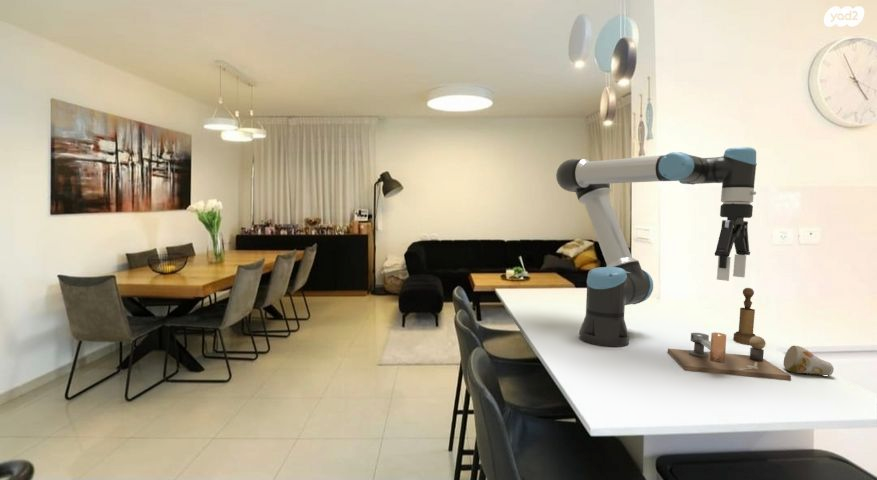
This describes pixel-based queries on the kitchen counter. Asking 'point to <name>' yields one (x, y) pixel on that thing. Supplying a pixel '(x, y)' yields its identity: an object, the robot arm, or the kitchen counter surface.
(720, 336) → the lever
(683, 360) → the wooden board
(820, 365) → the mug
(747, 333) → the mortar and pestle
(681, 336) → the kitchen counter surface
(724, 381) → the kitchen counter surface
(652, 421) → the kitchen counter surface
